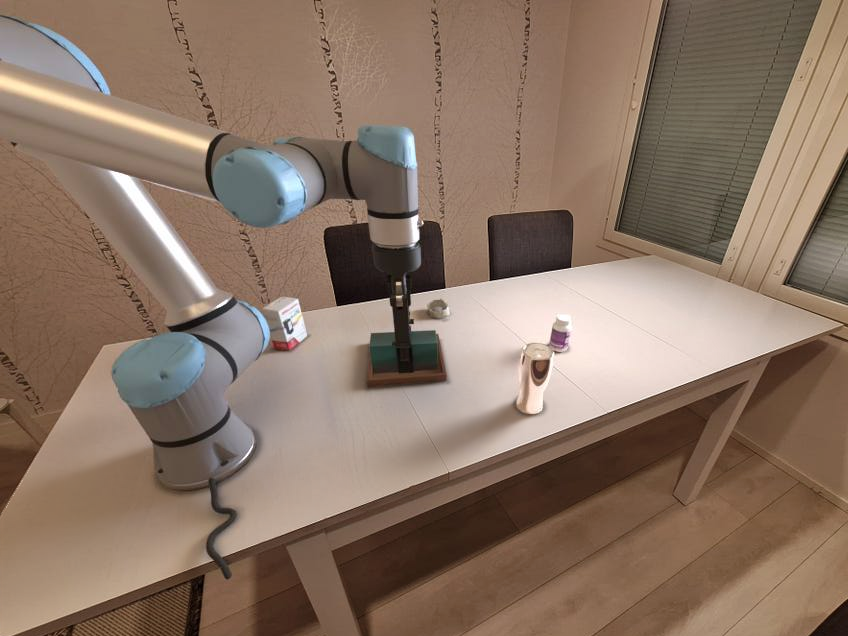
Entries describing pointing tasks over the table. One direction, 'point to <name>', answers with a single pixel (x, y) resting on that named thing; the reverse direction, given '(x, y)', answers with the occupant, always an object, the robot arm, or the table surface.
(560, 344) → the pill bottle
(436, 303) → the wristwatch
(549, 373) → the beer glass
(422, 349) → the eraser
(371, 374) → the tray
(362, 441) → the table surface
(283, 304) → the ink box
